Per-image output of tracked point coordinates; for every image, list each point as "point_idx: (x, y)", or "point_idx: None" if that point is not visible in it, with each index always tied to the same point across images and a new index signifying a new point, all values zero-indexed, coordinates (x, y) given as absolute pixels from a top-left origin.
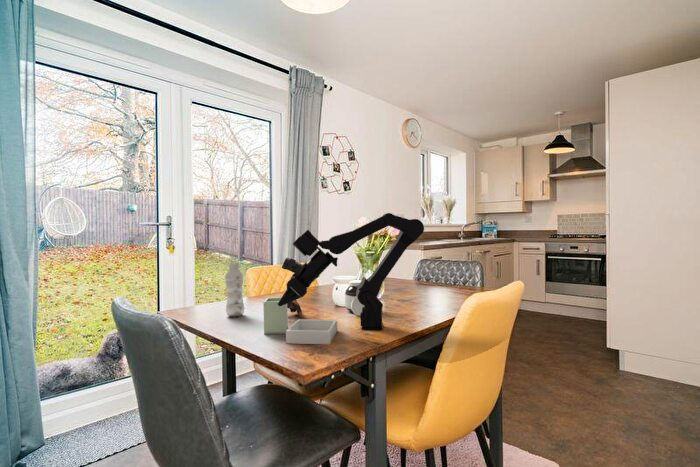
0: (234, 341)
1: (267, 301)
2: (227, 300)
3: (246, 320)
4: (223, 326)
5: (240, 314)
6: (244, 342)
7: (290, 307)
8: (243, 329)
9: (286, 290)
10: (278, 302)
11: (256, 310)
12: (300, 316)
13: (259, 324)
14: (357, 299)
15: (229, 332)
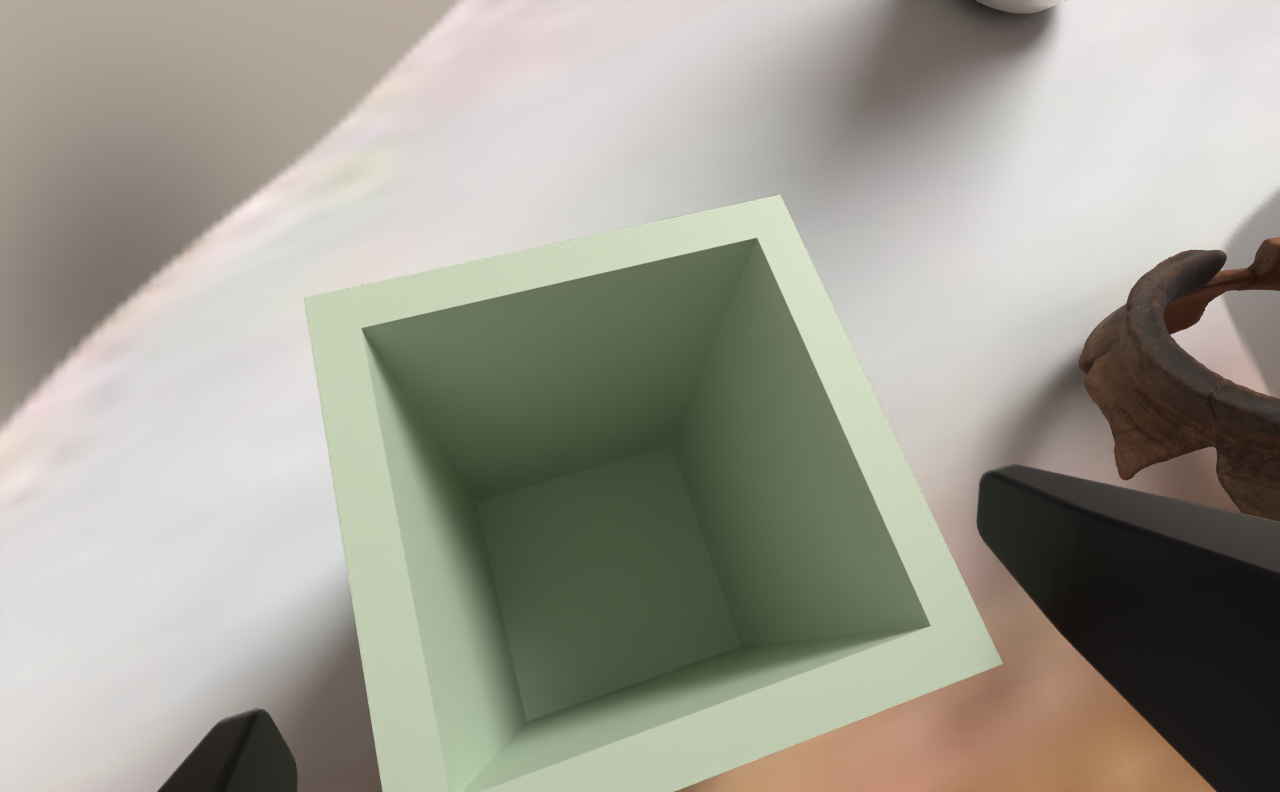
0: (208, 296)
1: (616, 293)
2: None
3: (906, 109)
4: (673, 19)
5: (997, 1)
6: (166, 406)
7: (1252, 508)
8: (615, 206)
9: (1253, 577)
10: (372, 675)
11: (1246, 55)
12: None
13: None
14: None
15: (502, 135)
